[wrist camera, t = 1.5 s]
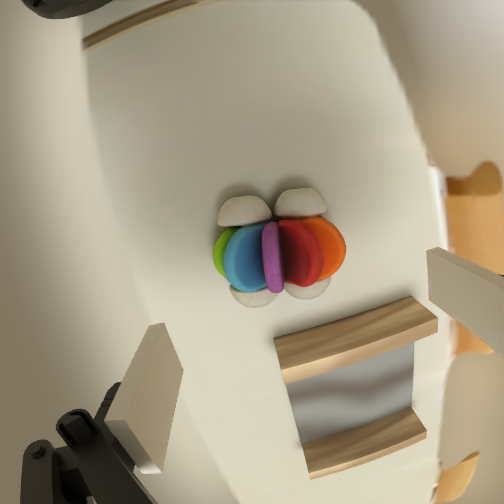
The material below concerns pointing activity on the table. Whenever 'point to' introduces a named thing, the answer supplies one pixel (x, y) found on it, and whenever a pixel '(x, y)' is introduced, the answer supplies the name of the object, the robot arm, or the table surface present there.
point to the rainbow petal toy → (277, 247)
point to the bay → (355, 385)
